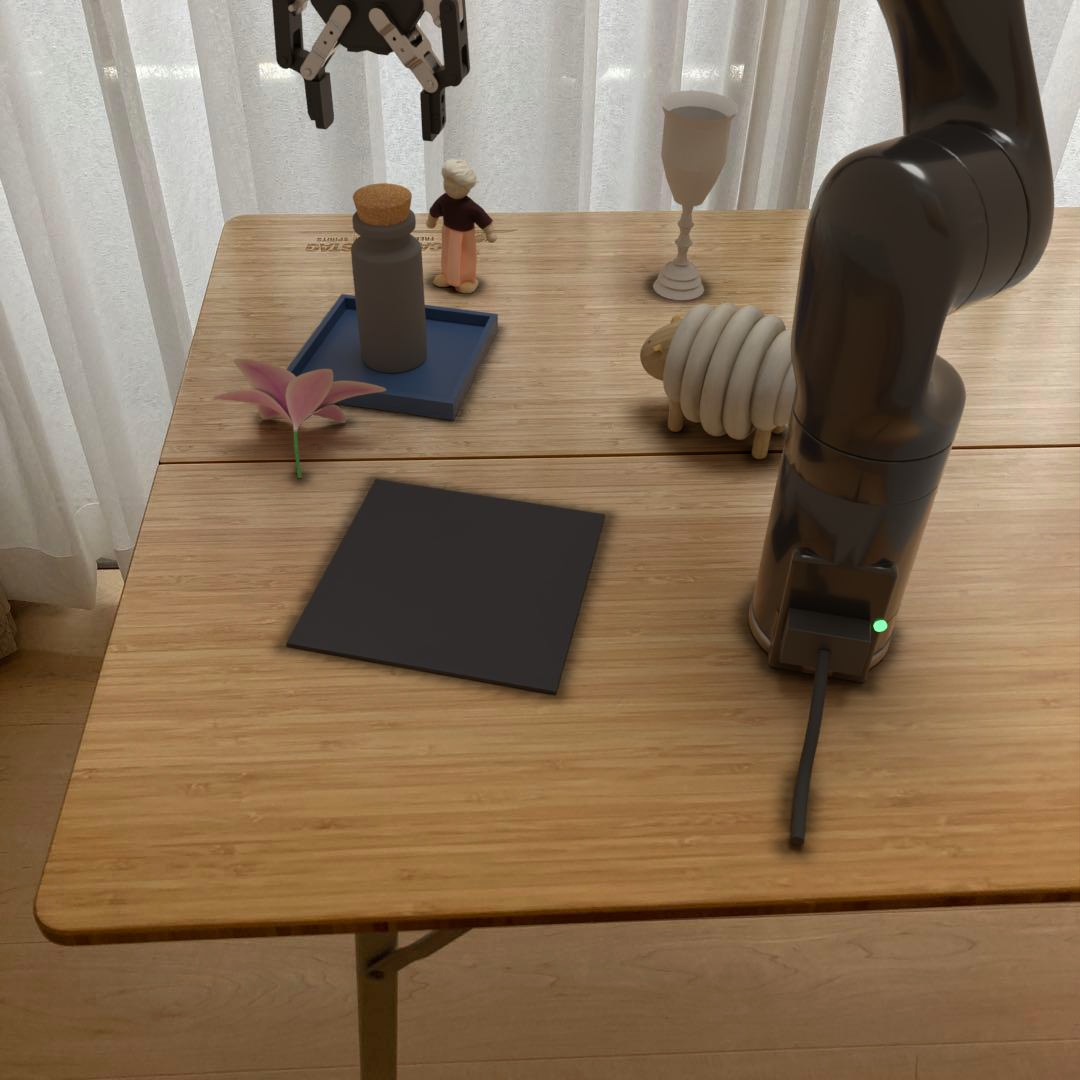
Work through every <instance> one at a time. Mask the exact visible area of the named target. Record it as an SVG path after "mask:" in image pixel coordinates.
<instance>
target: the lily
mask: <svg viewBox="0 0 1080 1080" xmlns="http://www.w3.org/2000/svg"><path fill="white" fill-rule="evenodd" d="M233 362H234V364H235V365H236V367H237V368H238V369H239V371H240V372H241V373H242V375H243V376H244V377H245V379H246V381H247V382H248V383H249V385H250V387H252V389H250V388H248V389H239V390H233V391H228V392H225V393H221V394H218V395H216V396H214V397H213V398H212V400H217V401H230V402H237V403H238V402H239V403H246V404H253V405H256V406H257V411H258V415H259V417H260V419H261V418H262V419H263V420H267V419H268V420H269V419H273V418H275V417H278V416H282V417H283V418H285V420H287V421H289V422H290V424H292V428H293V429H292V430H293V449H294V450H293V451H294V458H295V466H296V474H297V478H298V479H301V478H303V476H302V469H301V462H300V454H299V453H300V452H299V441H298V440H299V439H298V438H299V436H298V434H299V428H300V425H302V423H304V422H305V421H307V420H308V419H310V418H311V417H312V416H317V417H321V418H324V419H328V420H330V421H335V422H338V423H343V424H345V423H346V422H347V419H346V415H345V413H344V412H343V411H342V409H341V407H340V406H338V405H335V404H337V403H336V402H338V401H341V400H344V399H347V398H350V397H354V396H358V395H364V394H370V393H377V392H382V391H386V390H387V389H385V388H384V387H380V386H377V385H373V384H368V383H363V382H357V381H335V382H333V371H332V370H331V369H319V370H315V371H310V372H307V373H304V374H301V375H299V376H297V377H296V376H295V375H294V374H292V373H291V372H289V371H288V370H286V369H287V368H284V367H281V366H279V365H276V364H273V363H270V362H265V361H263V360H256V359H253V358H252V359H251V358H244V357H238V358H237V357H236V358H234V359H233Z"/></svg>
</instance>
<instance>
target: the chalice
mask: <svg viewBox="0 0 1080 1080" xmlns="http://www.w3.org/2000/svg"><path fill="white" fill-rule="evenodd" d="M660 104H661V105H660V106H661V109H662V111H663V114H664V118H663V119H664V120H663V128H662V140H661V150H660V157H661V161H662V165H663V166H662V167H663V170H664V175H665V179H666V181H667V184H668V187H669V190H670V192H671V195H672V198H673V200H674V202H675V203H677V204H678V205H680V206H681V210H682V212H681V216H680V218H679V220H678V221H677V225H678V228H679V235H678V237H677V238H676V239H675V240H674V244H675V245H676V247H677V254H676V258H674V259H673V260H670V261H669V262H667V263H665V265H664V266H663V267H662V268H661V271H660V272H659V274H657V275H658V276H657V279H656V280H655V281H654V282H653V284H652V289H653V290H654V292H655V293H656V294H658V295H659V296H661V297H662V298H666V299H669V300H673V301H691V300H694V299H697V298H700V297H701V296H702V295H703V294H704V292H705V288H704V286H703V283H702V278H701V275H700V271H699V268H697V266H696V264H694V263H693V262H692V261H690V260H689V259H688V252H689V248H690V247H691V246H692V245H693V241H692V239H691V237H690V233H691V230H692V229H693V227H694V226H695V223H694V221H693V215H692V214H693V210H694V208H695V207H698V206H702V204H703V203H704V202H705V200H706V198H707V197H708V195H709V194H710V192H711V191H712V189H713V188H714V187H715V185H716V183H717V181H718V179H719V177H720V175H721V173H722V170H723V169H724V166H725V164H726V163H727V156H728V149H729V141H730V133H731V127H732V126H731V125H732V121H733V119H734V118H735V116H736V115H737V113H738V111H739V106H738V104H737V103H736V102H735V100H733V99H731V98H730V97H727V96H725V95H722V94H718V93H715V92H710V91H703V90H678V91H673V92H670V93H667V94H666V95H664V96H662V97H661V99H660Z"/></svg>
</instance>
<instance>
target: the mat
mask: <svg viewBox="0 0 1080 1080" xmlns="http://www.w3.org/2000/svg"><path fill="white" fill-rule="evenodd" d="M605 518H606V514H605V513H600V512H593V511H587V510H581V509H580V510H579V509H575V508H574V509H573V508H567V507H561V506H554V505H549V504H541V503H534V502H528V501H522V500H517V499H516V500H515V499H509V498H503V497H495V496H490V495H483V494H477V493H476V494H475V493H470V492H463V491H456V490H450V489H443V488H437V487H431V486H425V485H419V484H412V483H411V484H410V483H404V482H399V481H392V480H386V479H380V478H375V479H374V481H373V482H372V485H371V486H370V489H369V490H368V492H367V493H366V496H365V498H364V499H363V501H362V503H361V505H360V506H359V508H358V510H357V512H356V514H355V516H354V518H353V519H352V521H351V523H350V525H349V526H348V529H347V530H346V532H345V534H344V536H343V538H342V539H341V541H340V544H339V545H338V547H337V549H336V551H335V552H334V555H332V558H331V560H330V562H329V564H328V565H327V567H326V569H325V571H324V573H323V575H322V577H321V578H320V580H319V581H318V584H317V586H316V587H315V589H314V591H313V593H312V595H311V597H310V599H309V600H308V602H307V604H306V606H305V608H304V610H303V611H302V613H301V615H300V617H299V619H298V620H297V622H296V624H295V626H294V628H293V629H292V632H291V633H290V635H289V637H288V639H287V641H286V642H285V645H286V647H291V648H295V649H302V650H308V651H311V652H318V653H323V654H330V655H334V656H340V657H345V658H346V657H347V658H350V659H357V660H363V661H368V662H373V663H380V664H385V665H390V666H395V667H402V668H406V669H412V670H417V671H424V672H428V673H429V672H430V673H434V674H441V675H445V676H449V677H450V676H452V677H456V678H461V679H467V680H472V681H473V680H474V681H479V682H484V683H489V684H495V685H501V686H506V687H512V688H518V689H523V690H529V691H534V692H540V693H545V694H551V695H557V692H558V689H559V684H560V681H561V678H562V675H563V674H562V673H563V670H564V666H565V663H566V659H567V655H568V653H569V648H570V645H571V641H572V638H573V634H574V630H575V626H576V622H577V620H578V616H579V612H580V609H581V605H582V601H583V599H584V594H585V590H586V587H587V583H588V580H589V576H590V573H591V569H592V565H593V562H594V558H595V554H596V551H597V547H598V543H599V541H600V536H601V533H602V529H603V525H604V522H605Z"/></svg>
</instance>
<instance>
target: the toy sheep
mask: <svg viewBox="0 0 1080 1080" xmlns="http://www.w3.org/2000/svg"><path fill="white" fill-rule="evenodd" d="M791 332H792V328H788V329H787V327H786V324H785V322H784V320H783V319H782V318H780V317H779V316H777V315H773V314H769V315H768V314H767V315H765V313H764V312H763V310H762V309H761V308H760V307H758V306H756V305H754V304H753V305H751V304H748V305H743V306H742V307H740V308H739V307H738V305H737V304H735V303H733V302H722V303H720V304H718V305H716V306H715V307H713V306H712V305H711V304H709V303H698V304H696V305H694V306H692V307H691V308H690V309H689V310H688V311H687V312H686V313H685V314H684V315H683V317H681V316H680V315H678V314H677V315H675V316H672V317H671V319H670V322H669V323H667V324H665V325H662V326H661V327H659V328H658V329H656V330H655V331H654V332H653V333H652V334H650V335H649V336H648V337H647V339H646V340H645V341H644V342H643V345H642V346H641V349H640V353H639V358H640V359H639V360H640V364H641V365H642V368H643V369H644V371H645V372H646V373H647V374H648V375H649V376H651V377H652V378H654V379H655V380H658V381H662V385H663V391H664V394H665V395H666V397H667V398H668V399H669V400H670V404H669V412H668V418H667V428H668V430H670V431H671V432H675V433H676V432H677V433H678V432H680V431H681V430H682V429H683V426H684V422H685V421H684V420H685V419H684V418H686V419H687V420H688V421H690V422H691V423H700V424H701V427H702V429H703V430H704V431H705V432H706V433H707V434H708V435H710V436H713V437H721V436H724V435H726V434H727V435H728V436H729V437H730V438H732V439H734V440H744V439H746V438H748V437H749V436H750V435H751V434H752V433H753V432H754V437H753V442H752V447H751V455H752V457H753V458H754V459H756V460H762V459H765V458H766V457H767V455H768V451H769V446H770V442H771V436H772V434H776V435H777V434H781V433H783V432H784V430H785V427H786V425H788V424H789V419H790V414H791V409H792V404H793V399H794V394H795V388H796V381H795V376H794V370H793V366H792V359H791Z"/></svg>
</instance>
